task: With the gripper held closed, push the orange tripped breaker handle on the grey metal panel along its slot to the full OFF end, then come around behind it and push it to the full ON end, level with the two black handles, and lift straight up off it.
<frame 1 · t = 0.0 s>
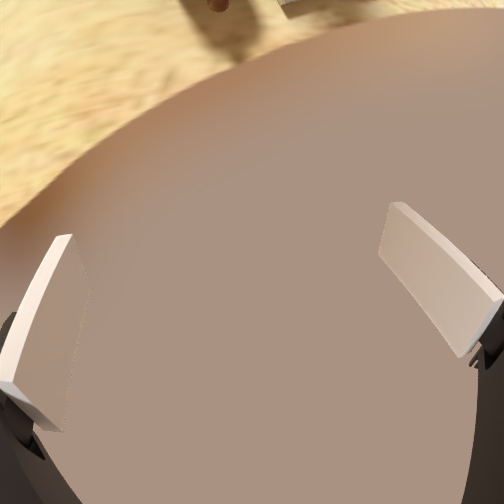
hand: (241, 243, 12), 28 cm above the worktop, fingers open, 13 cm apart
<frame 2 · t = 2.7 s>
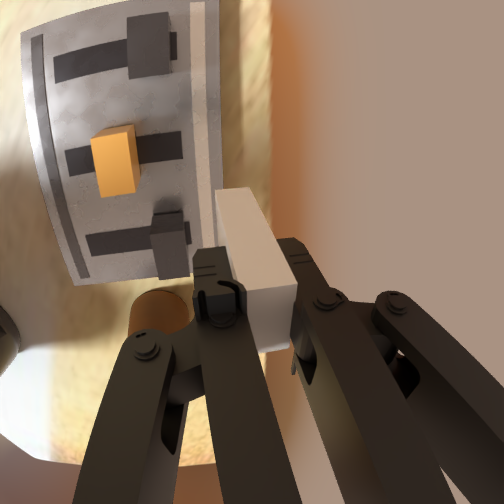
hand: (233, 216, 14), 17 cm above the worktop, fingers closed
mug: (176, 309, 38), on the worktop
breaker handle: (117, 159, 23), point 4 cm above the worktop, slide at 0.0 cm
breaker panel: (125, 147, 26), on the worktop
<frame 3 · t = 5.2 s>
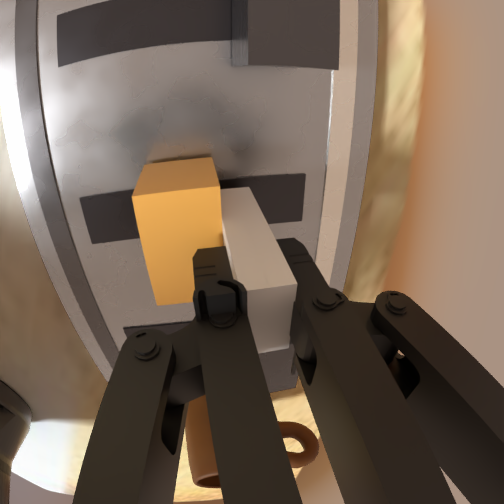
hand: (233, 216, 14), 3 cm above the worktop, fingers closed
mug: (241, 390, 29), on the worktop
breaker handle: (183, 229, 13), point 4 cm above the worktop, slide at -0.5 cm, touching gripper
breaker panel: (192, 191, 16), on the worktop
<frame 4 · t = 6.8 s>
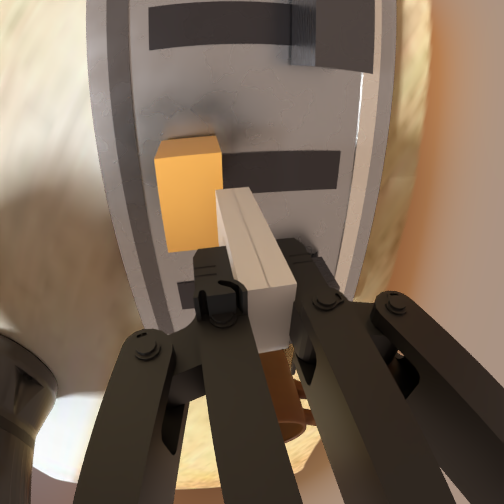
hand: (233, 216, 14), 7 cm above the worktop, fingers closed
mug: (269, 356, 32), on the worktop
breaker handle: (191, 191, 16), point 4 cm above the worktop, slide at -3.6 cm
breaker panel: (247, 162, 19), on the worktop
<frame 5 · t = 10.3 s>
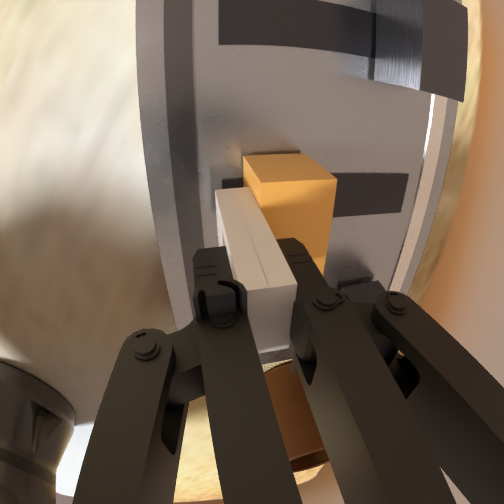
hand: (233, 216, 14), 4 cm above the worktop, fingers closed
mug: (304, 376, 30), on the worktop
breaker handle: (283, 218, 14), point 4 cm above the worktop, slide at -3.0 cm, touching gripper
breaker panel: (312, 182, 18), on the worktop
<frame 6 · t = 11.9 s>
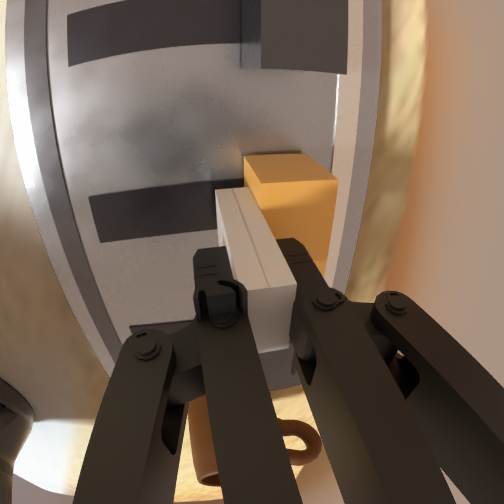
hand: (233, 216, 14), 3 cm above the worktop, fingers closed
mug: (244, 389, 29), on the worktop
breaker handle: (284, 219, 14), point 4 cm above the worktop, slide at 3.6 cm, touching gripper
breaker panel: (199, 190, 16), on the worktop
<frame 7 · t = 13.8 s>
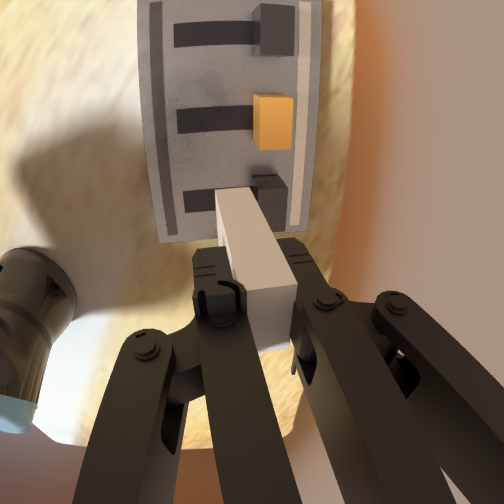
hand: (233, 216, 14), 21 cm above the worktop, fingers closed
breaker handle: (271, 120, 27), point 4 cm above the worktop, slide at 3.6 cm
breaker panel: (230, 114, 30), on the worktop
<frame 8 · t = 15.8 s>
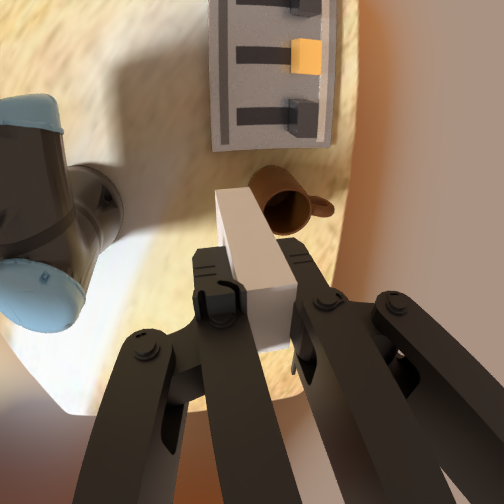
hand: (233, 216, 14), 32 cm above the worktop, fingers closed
mug: (282, 187, 49), on the worktop
breaker handle: (305, 56, 34), point 4 cm above the worktop, slide at 3.6 cm
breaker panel: (272, 56, 37), on the worktop
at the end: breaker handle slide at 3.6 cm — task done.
